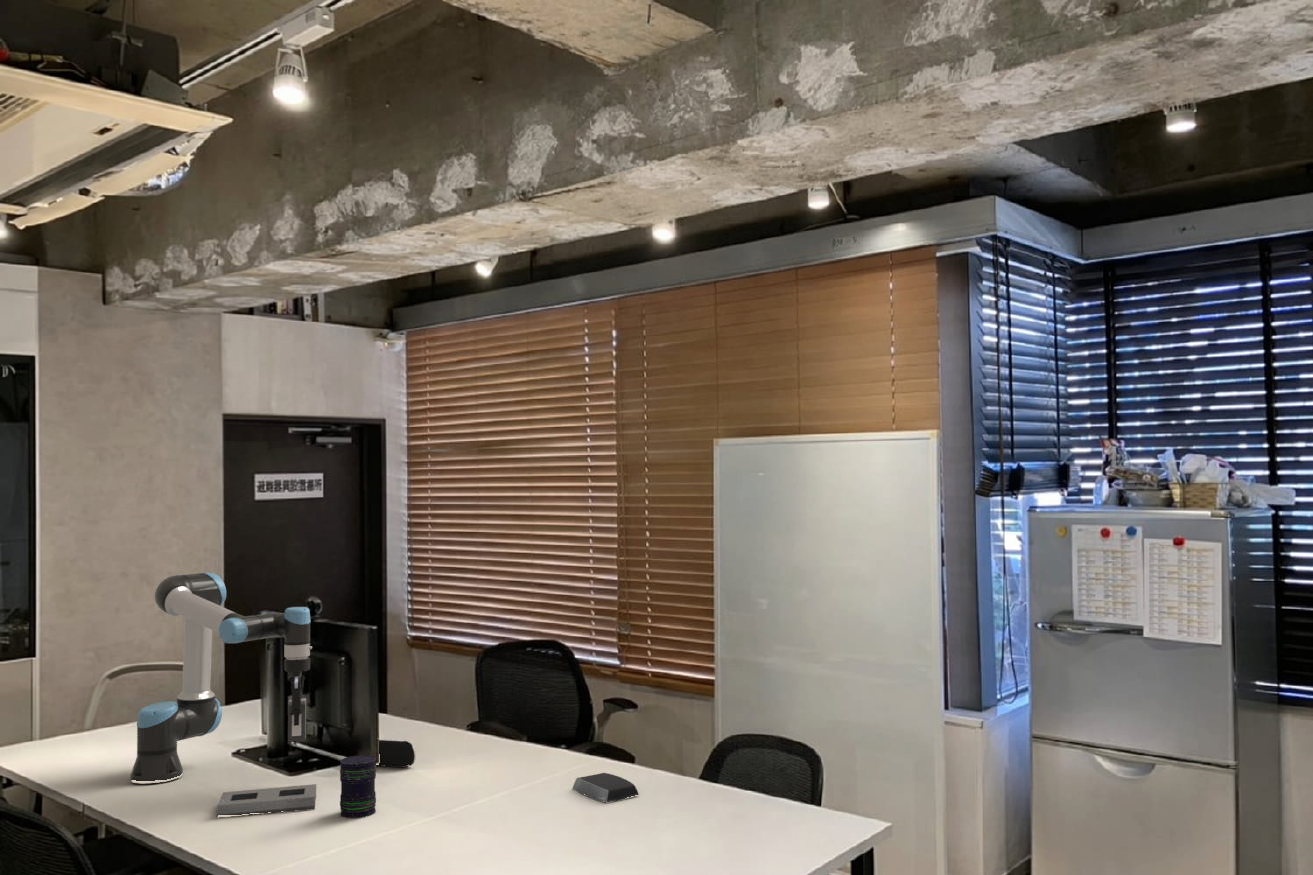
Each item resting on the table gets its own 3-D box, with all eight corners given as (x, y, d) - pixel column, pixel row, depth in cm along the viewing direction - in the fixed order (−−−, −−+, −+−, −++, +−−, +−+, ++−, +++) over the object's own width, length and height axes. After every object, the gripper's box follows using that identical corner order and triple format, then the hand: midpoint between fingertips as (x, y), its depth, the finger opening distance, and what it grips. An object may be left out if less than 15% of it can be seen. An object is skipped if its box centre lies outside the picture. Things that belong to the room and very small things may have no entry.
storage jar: (338, 810, 298) (338, 757, 299) (374, 806, 302) (374, 753, 302) (341, 820, 289) (341, 765, 290) (377, 815, 292) (377, 761, 293)
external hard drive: (603, 805, 300) (603, 791, 300) (570, 790, 316) (570, 776, 316) (641, 797, 308) (641, 783, 308) (606, 783, 324) (606, 769, 324)
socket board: (223, 804, 306) (223, 792, 306) (316, 795, 313) (316, 783, 313) (216, 818, 292) (217, 805, 293) (314, 809, 300) (314, 796, 300)
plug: (288, 738, 324) (289, 699, 325) (305, 736, 326) (305, 698, 326) (288, 741, 320) (288, 701, 320) (305, 740, 321) (305, 700, 322)
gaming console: (413, 769, 342) (417, 766, 345) (411, 742, 342) (415, 739, 345) (361, 766, 348) (365, 763, 350) (360, 739, 348) (364, 737, 350)
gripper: (308, 661, 317) (308, 739, 315) (311, 652, 333) (310, 726, 332) (282, 662, 315) (282, 741, 313) (286, 654, 331) (285, 728, 330)
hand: (296, 733), depth 323 cm, fingers closed on plug, 4 cm apart
